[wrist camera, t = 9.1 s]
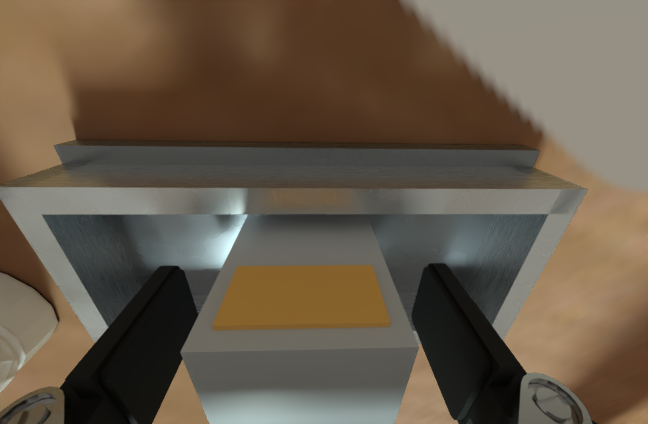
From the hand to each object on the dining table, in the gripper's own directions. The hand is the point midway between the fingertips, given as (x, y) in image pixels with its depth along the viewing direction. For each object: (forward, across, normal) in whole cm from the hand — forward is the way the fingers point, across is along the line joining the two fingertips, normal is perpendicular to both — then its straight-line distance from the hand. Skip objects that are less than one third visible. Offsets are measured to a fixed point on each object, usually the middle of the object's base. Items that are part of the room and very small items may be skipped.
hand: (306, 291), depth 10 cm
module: (+3, 0, 0) cm, 3 cm away
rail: (+4, 0, 0) cm, 4 cm away
